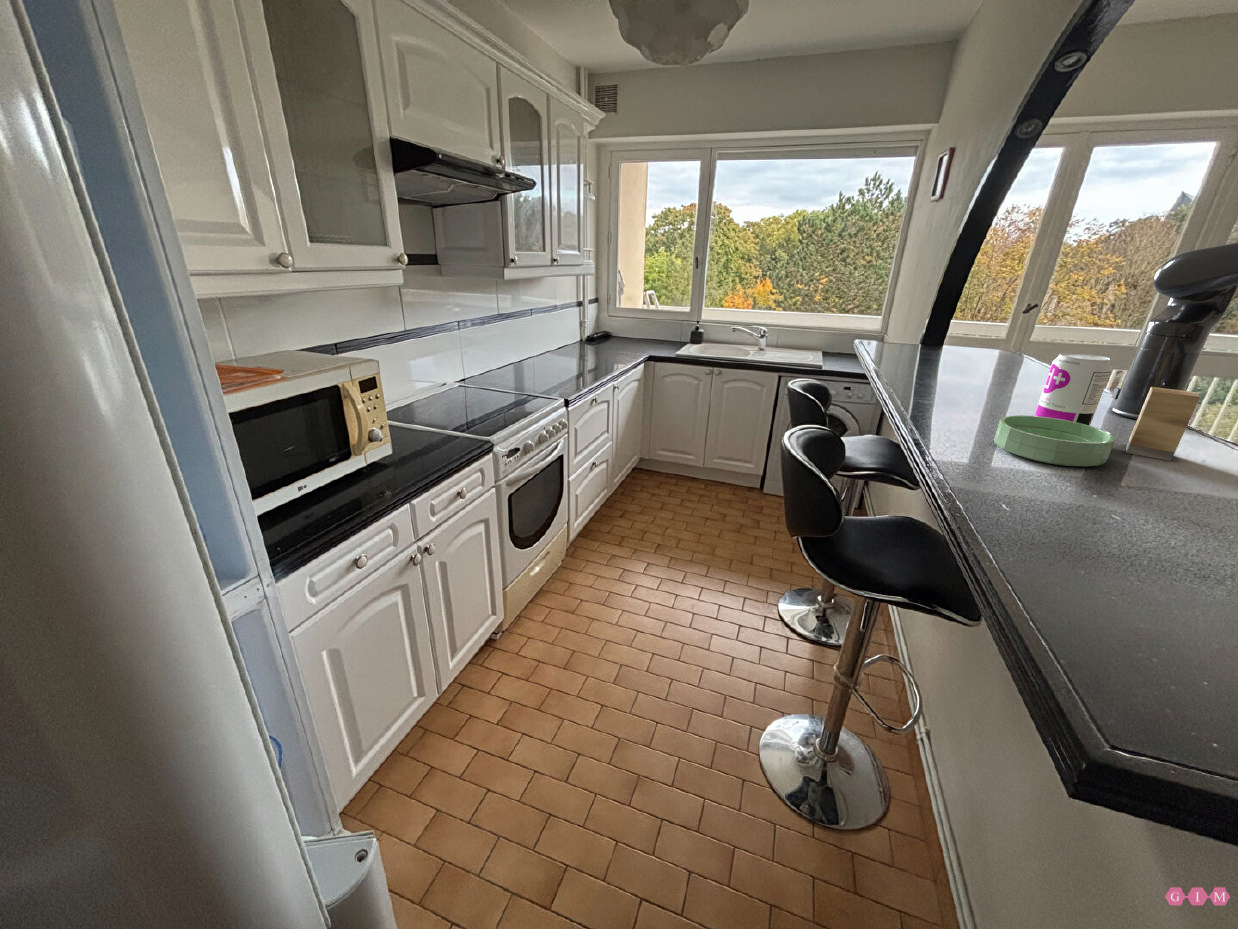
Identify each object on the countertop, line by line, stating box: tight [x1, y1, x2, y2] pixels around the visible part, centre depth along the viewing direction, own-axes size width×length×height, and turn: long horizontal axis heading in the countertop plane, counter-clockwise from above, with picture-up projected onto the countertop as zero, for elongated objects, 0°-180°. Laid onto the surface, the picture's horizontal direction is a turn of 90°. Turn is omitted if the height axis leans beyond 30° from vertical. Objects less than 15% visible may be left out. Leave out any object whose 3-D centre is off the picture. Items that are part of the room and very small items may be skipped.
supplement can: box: [1034, 352, 1113, 426], centre depth 94 cm, size 8×8×15 cm
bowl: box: [993, 414, 1116, 467], centre depth 87 cm, size 15×15×4 cm
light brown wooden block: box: [1125, 387, 1201, 462], centre depth 86 cm, size 4×6×11 cm
